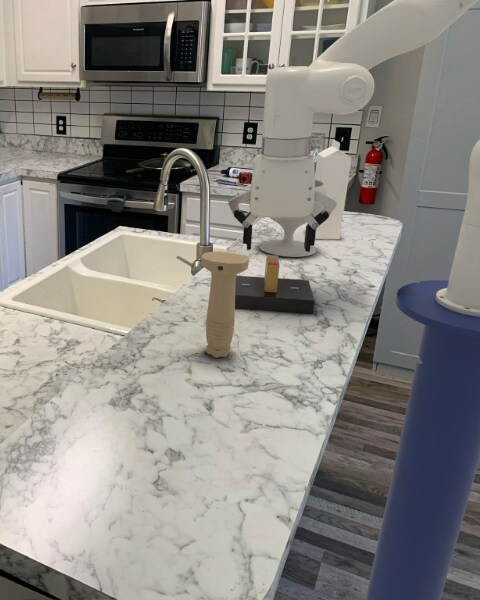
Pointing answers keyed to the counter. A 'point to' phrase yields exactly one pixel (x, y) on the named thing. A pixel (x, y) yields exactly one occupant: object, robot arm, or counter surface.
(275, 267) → the tan square block
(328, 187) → the milk
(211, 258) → the handle
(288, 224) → the chalice
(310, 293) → the plate
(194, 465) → the counter surface
